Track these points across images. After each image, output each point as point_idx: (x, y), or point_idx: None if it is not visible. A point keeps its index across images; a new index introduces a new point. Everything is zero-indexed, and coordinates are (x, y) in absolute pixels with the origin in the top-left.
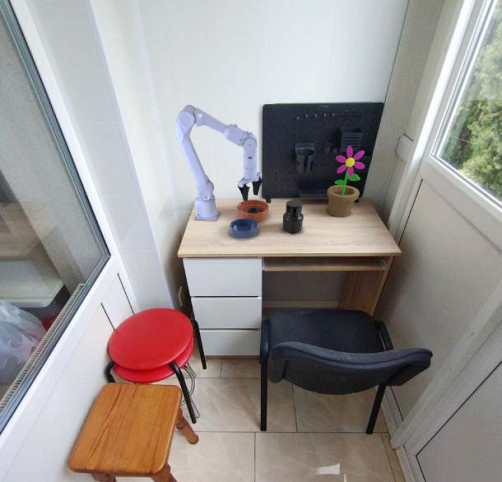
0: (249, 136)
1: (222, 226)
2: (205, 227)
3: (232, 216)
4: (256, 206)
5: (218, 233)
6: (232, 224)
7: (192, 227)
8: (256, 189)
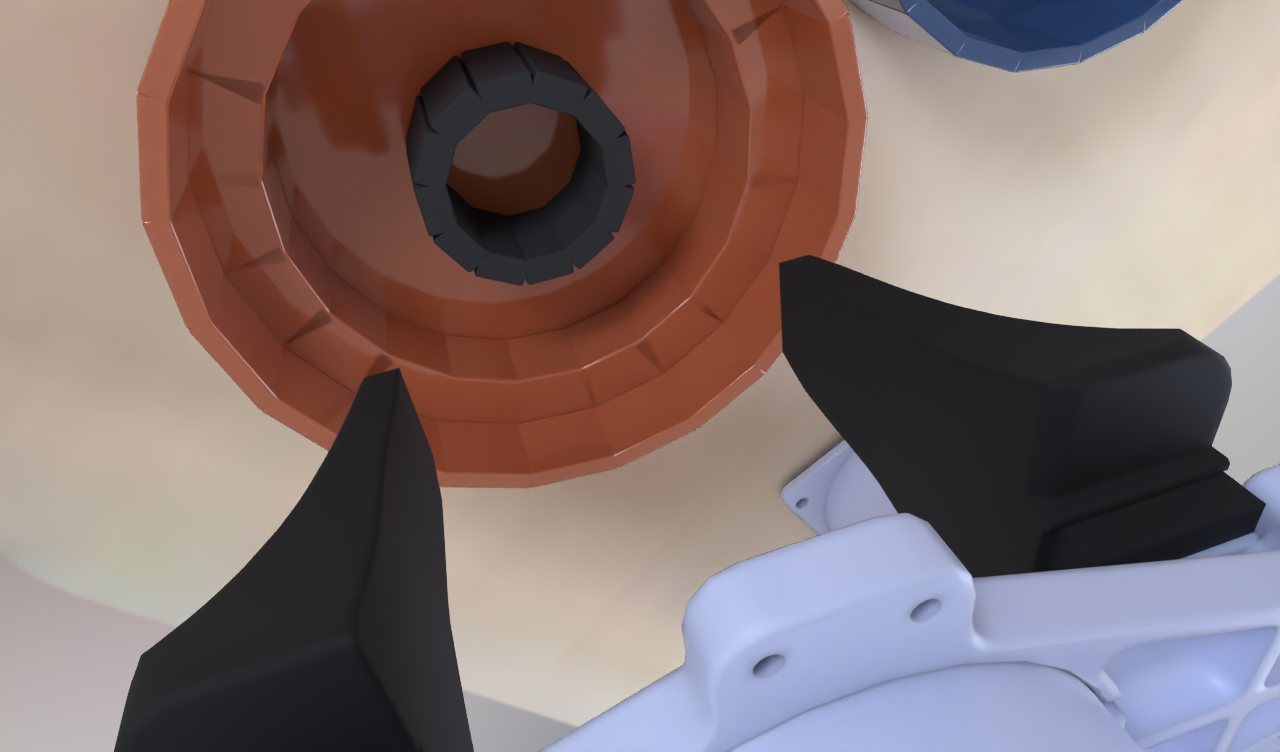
0: None
1: (1013, 184)
2: (1115, 288)
3: None
4: (328, 303)
5: (1180, 61)
6: (1092, 18)
7: None
8: (407, 493)
